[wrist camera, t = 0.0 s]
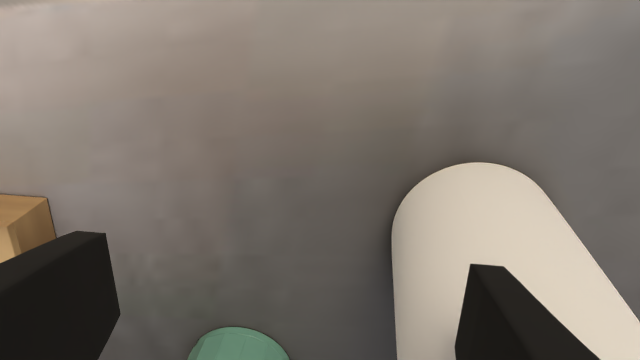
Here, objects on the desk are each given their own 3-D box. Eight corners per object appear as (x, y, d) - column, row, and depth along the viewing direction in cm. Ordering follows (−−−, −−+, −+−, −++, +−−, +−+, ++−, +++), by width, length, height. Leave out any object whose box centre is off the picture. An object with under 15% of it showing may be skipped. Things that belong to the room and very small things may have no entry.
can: (364, 256, 21) (351, 576, 10) (440, 130, 18) (537, 380, 7) (493, 314, 21) (614, 678, 11) (587, 200, 19) (879, 531, 8)
